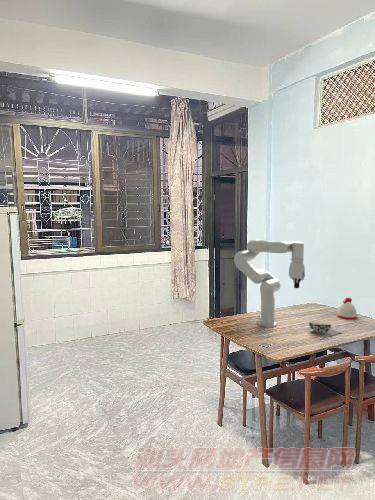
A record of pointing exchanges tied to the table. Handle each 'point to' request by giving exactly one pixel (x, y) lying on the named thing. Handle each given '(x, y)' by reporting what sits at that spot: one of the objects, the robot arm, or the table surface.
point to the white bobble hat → (347, 310)
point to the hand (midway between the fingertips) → (296, 287)
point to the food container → (320, 327)
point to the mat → (328, 333)
